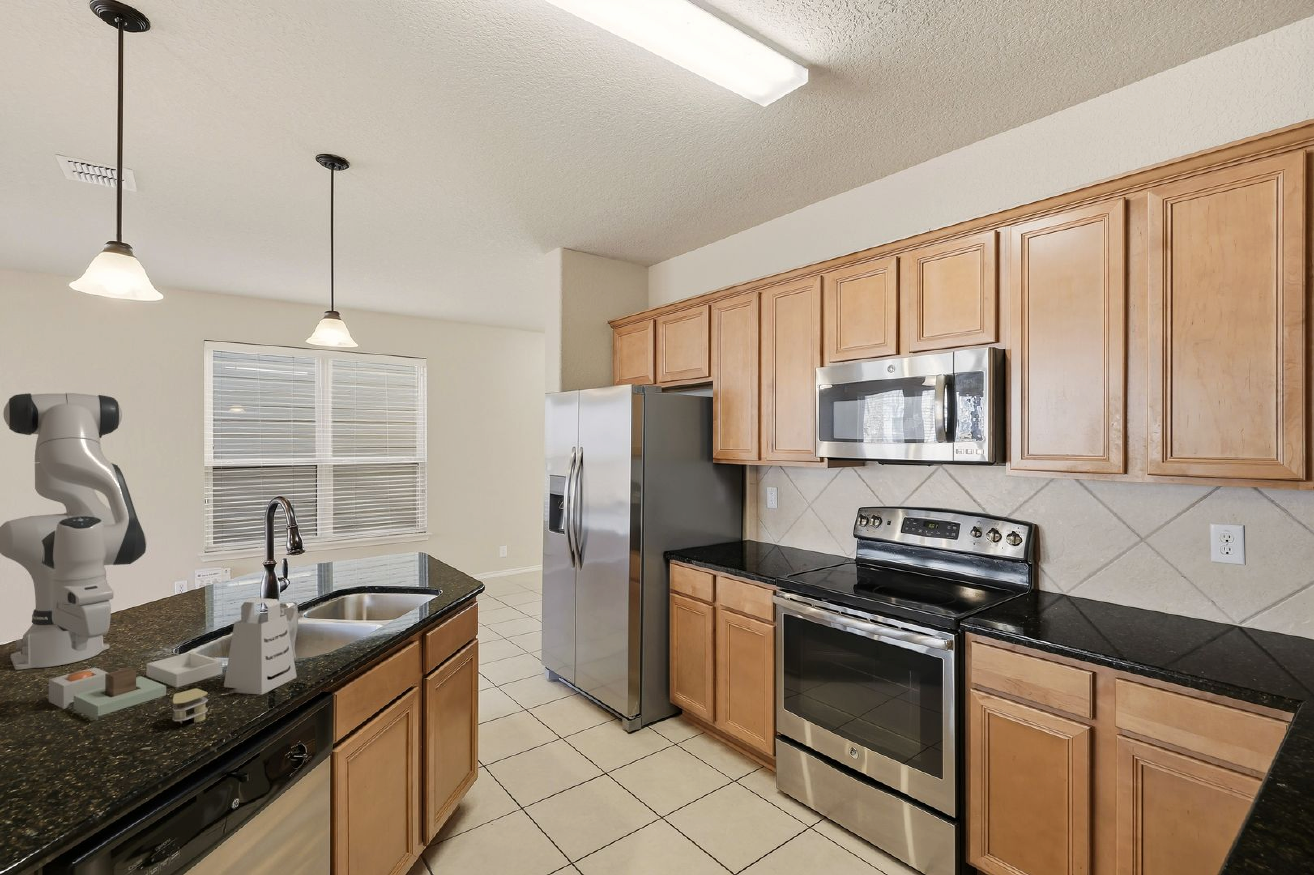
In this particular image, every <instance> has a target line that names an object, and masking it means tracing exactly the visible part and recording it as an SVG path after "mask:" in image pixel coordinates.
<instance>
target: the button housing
mask: <svg viewBox="0 0 1314 875" xmlns="http://www.w3.org/2000/svg"><path fill="white" fill-rule="evenodd" d="M80 671H81V670H80ZM80 671H78V672H80ZM82 671H92V676H91V677H87V678H83V679H79V680H76V681H72V682H70V681H68V675H70V674H72V673H73V672H72V673H68V674H64V675H61V676H56V677H52V678H48V702H49V703H51V704H53V705H55V706H57V707H59V708H61V709H62V710H64V709H68V708H72V707H74V695H76V694H80V693H83V692H87V691H90V690H94V689H98V688H101V687H105V674H107V673H109V672H107V671H105V670H103V669H99V668H98V667H91V668H87V669H84V670H82ZM76 672H77V671H76ZM76 672H74V673H76Z"/></svg>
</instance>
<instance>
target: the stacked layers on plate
mask: <svg viewBox="0 0 1314 875" xmlns="http://www.w3.org/2000/svg"><path fill="white" fill-rule="evenodd" d="M208 694H209V693H208V692H207V691H204V690H202V689H200V688H197V687H196V688H191V689H189V690H185V691H182V692H178V693H177V692H176V693H174V694H173V697H172V698H173V699H172V710H173V715H172V721H174V722H179V723H180V724H181V725H182V724H183V722H184V721H187V720H189V719H191V720H190V721H193V723H200V722H203V721H204V720H206V712H208V710H209V709H208V707H206V703H207V702H208V701H209V699H208V697H206V696H207V695H208Z"/></svg>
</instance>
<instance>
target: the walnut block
mask: <svg viewBox="0 0 1314 875" xmlns="http://www.w3.org/2000/svg"><path fill="white" fill-rule="evenodd" d="M136 678H137V670H135V669H132V668H129V667H126V668H122V669H119V670H115V671H110V672H108V673H107V674H105V695H106V696H108V697H110V698H111V697H114V696H118V695H121V694H124V693H128V692H131V691H135V690H136Z"/></svg>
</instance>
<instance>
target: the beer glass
mask: <svg viewBox="0 0 1314 875" xmlns="http://www.w3.org/2000/svg"><path fill="white" fill-rule="evenodd" d="M279 603H280V615H286V617H287V623H288V628H289V634H290V640H291V646H292V652H293V658H294V659H296V658H297V655H296V651H295V650H296V648H295V647H296V638H297V634H298V627H299V609H298V608H299V607H298V602H295V601H284V602H279ZM266 622H268V621H266ZM280 635H282V634H280ZM278 638H280V636H279V637H278ZM270 639H273V638H270ZM274 639H277V637H276V636H275V637H274ZM281 653H282V654H283V653H284V651H283V652H281ZM278 654H279V653H278ZM277 656H278V655H276V656H275V657H277ZM271 657H272V658H274V655H273V656H271ZM270 660H271V659H270Z"/></svg>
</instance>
